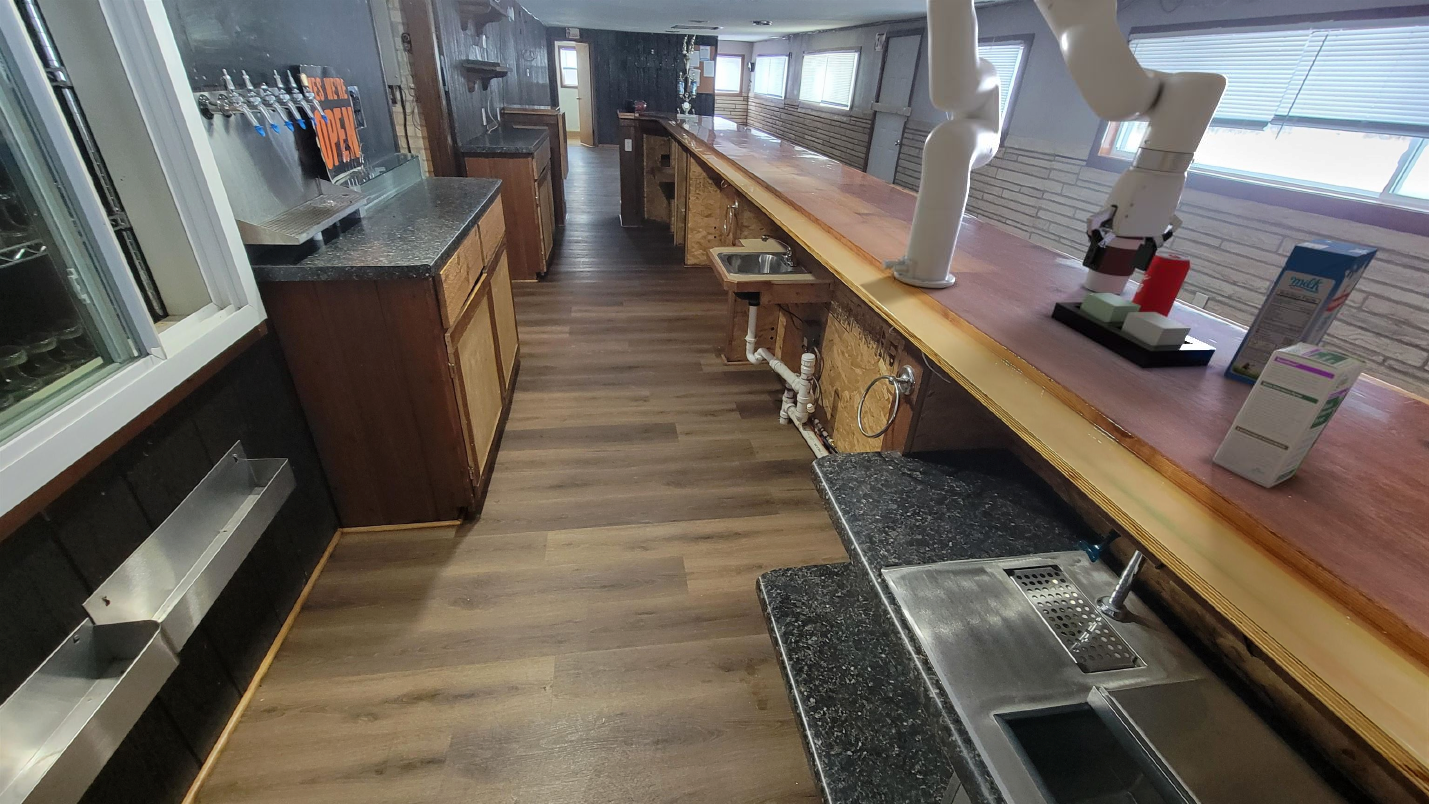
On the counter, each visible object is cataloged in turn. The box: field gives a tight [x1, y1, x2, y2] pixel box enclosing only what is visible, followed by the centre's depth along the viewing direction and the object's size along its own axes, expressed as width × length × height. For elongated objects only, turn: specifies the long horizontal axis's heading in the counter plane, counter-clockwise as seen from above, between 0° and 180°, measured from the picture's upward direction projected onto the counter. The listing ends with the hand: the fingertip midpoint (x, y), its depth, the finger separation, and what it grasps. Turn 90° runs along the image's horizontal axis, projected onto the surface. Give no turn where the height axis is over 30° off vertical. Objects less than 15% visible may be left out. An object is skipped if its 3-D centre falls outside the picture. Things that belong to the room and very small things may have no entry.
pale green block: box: [1080, 292, 1141, 322], centre depth 101 cm, size 5×7×6 cm
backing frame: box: [1050, 301, 1217, 369], centre depth 97 cm, size 12×22×3 cm, turn 9°
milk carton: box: [1222, 238, 1380, 387], centre depth 82 cm, size 10×6×20 cm, turn 122°
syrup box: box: [1212, 342, 1368, 489], centre depth 61 cm, size 6×6×14 cm
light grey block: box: [1121, 312, 1192, 346], centre depth 92 cm, size 5×7×6 cm
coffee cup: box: [1083, 233, 1145, 295], centre depth 119 cm, size 10×10×15 cm
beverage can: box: [1131, 250, 1191, 318], centre depth 105 cm, size 6×6×12 cm
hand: (1114, 268), depth 98 cm, fingers open, 9 cm apart
